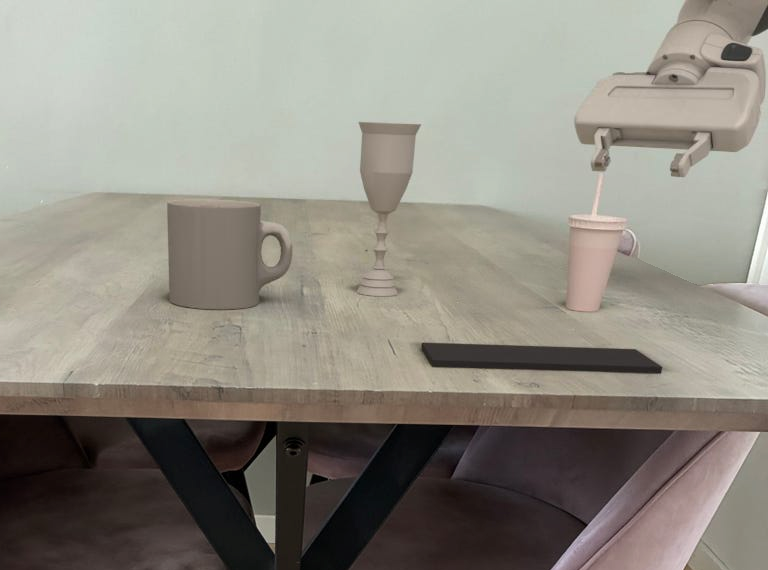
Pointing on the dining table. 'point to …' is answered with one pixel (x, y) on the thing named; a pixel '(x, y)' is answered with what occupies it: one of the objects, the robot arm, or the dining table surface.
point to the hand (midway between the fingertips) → (635, 170)
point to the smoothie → (591, 255)
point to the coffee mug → (220, 253)
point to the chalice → (384, 188)
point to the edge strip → (539, 358)
